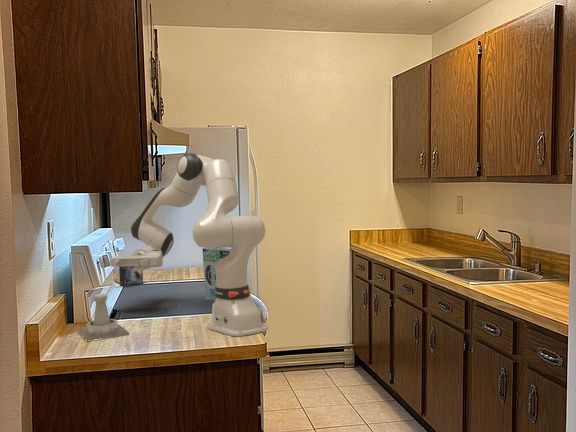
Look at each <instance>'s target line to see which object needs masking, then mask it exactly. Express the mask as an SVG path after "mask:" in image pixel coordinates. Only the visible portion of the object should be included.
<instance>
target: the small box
mask: <svg viewBox="0 0 576 432" xmlns="http://www.w3.org/2000/svg"><path fill="white" fill-rule="evenodd" d="M143 271H144V270H138V269H136V268H135V267H134V266H124V267H119V286H120V285H121V286H120V287H122V286H123V287H122V288H127V287H135V286H134V285H136V286H142V285H141V284H143V285H144V274H143V273H144V272H143Z"/></svg>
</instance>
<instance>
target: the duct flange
mask: <svg viewBox="0 0 576 432" xmlns="http://www.w3.org/2000/svg"><path fill="white" fill-rule="evenodd" d="M110 322H111V323H110V324H107V325H97V326H95V325H93V323H94V320H92V321H88V322H87V323H86V324H85V325H86V326H85V327H84V328H77V329H76V331H77V330H78V332H79V333H80V334H81V335H82V336H83V337H84V338H85V339H86V340H87V341H88V340H94V339H100V338H107V337H113V338H118V337H123V336H128V335H130V332H129V331H128V330H127V329H126V328H124V327H123V326H122V325H120V324H119V323H118V322H119V321H118V319H114V318H110ZM78 332H77V333H78ZM79 333H78V334H79ZM80 334H79V335H80ZM81 335H80V336H81ZM107 339H108V338H107Z"/></svg>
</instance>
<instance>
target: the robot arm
mask: <svg viewBox="0 0 576 432" xmlns="http://www.w3.org/2000/svg"><path fill="white" fill-rule="evenodd" d="M176 171H177V172H176V174H175V176H174V177H173V180H172V182H171V183H170V184H169V185H168V186H166V187H162V188H160V189H159V190H158V191H157V192H156V193H155V194H154V195H153V197H152V198H151V199H150V201H149V202H148V204H147V205H146V206H145V208H144V209H143V210H142V212H141V214H140V215H139V216H138V217H137V218H136V219H135V220H134V222H133V223H132V224H131V226H130V232H131V236H132V238H135V239H136V240H139V241H140V242H142V243H143V244H145V245H146V246H145V247H144V246H142V247H139V248H137V249H135V250H133V252H132V253H131V254H130V255H117V256H113V257H109V265H110V267H112V268H113V267H114V268H115V267H124V266H134V267H135V268H136V269H138V270H143V271H144V270H147V269H151V268H159V267H162V266H163V264H164V260H163V259H164V257H165V256H167V255H168V254H169V252H171V249H172V248H173V245H174V235H173V232H171V231H169V230H168V229H167V228H165V227H164V226H162V225H160V224H158V223H157V222H155V221H154V220H153V216H154V215H155V214H156V212H157V211H158V209H160V207H161V206H170V207H174V208H184V207H187V206H189V205H190V204H192V203H193V201H194V200H195V198H196V196H197V194H198V192H199V190H200V187H201V186H205V188H206V195H207V209H206V211H205V213H204V214H203V216H202V217H200V218H199V219H198V220H197V221H196V222H195V223H194V226H193V228H192V239H193V240H194V242H195V244H196V245H197V246H198V247H199V248H225V249H227V248H230V249H231V252H230V253H229V255H228V256H226V257H224V258H223V259H221V260H220V261H219V262H218V263H217V265H216V268H215V270H216V287H215V296H216V300H215V301H213V303H212V308H211V311H212V312H211V324H209V325H208V330H211V331H215V332H217V333H221V334H225V335H227V336H231V337H243V336H248V335H255V334H260V333H263V332H266V331H268V330H269V326H268V325H267V324H266V323H264V322H263V321H262V317H261V316H262V308H260V307H257V306H256V303H255V302H254V300H253V299H252V297H251V289H250V287H249V286H250V285H249V284H248V263H249V258H250V257H251V254H252V253H253V251H254V250H255V249H256V247H257V246H258V245H259V244H260V243H261V242H262V241H263V240H264V238H265V235H266V227H265V226H266V225H265V223H264V221H263V220H262V219H261V218H260V217H258V216H253V215H247V214H246V215H245V214H244V215H231V216H228V215H227V214H229V213H231V212H233V211H234V210H235V209H236V208H237V206H238V204H239V202H240V197H239V193H238V192H239V191H238V186H237V183H236V179H235V175H234V171H233V169H232V166H231V165H230V163H229V162H228V161H227V160H226V159H222V158H215V159H213V158H211V157H209V156H205V155H200V154H195V153H193V152H192V153H191V152H189V153H184V154H183V155H181V157H179V160H178V162H177V165H176Z"/></svg>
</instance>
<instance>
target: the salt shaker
mask: <svg viewBox="0 0 576 432" xmlns="http://www.w3.org/2000/svg"><path fill="white" fill-rule="evenodd" d="M107 300H108V295H107V294H106V293H97V294H95V295H94V296H93V302H95V308H94V316H93V321H94V323H93V325H95V326H97V325H107V324H110V323H111V322H110V319H111V318H110V316H109V315H110V314H109V310H108V306H107Z"/></svg>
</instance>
